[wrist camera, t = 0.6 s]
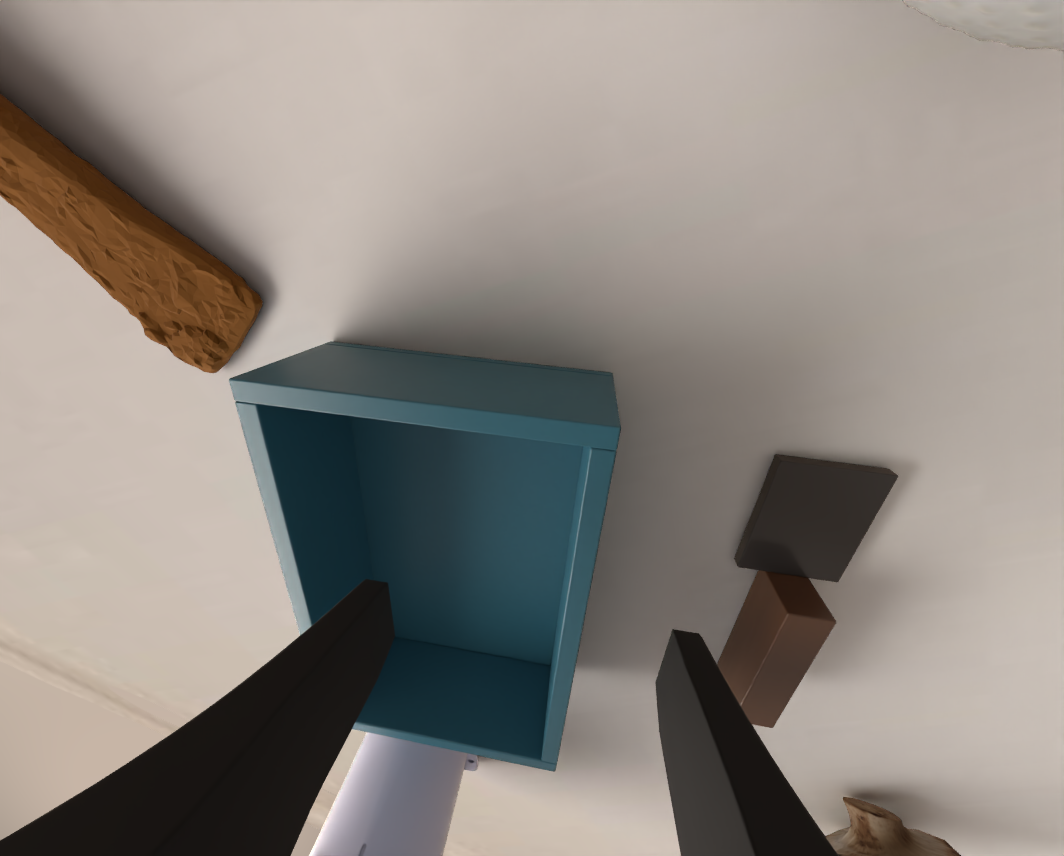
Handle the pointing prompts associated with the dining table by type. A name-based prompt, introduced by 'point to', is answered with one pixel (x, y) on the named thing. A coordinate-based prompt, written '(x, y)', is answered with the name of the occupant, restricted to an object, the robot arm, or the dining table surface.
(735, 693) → the scraper
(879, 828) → the mushroom
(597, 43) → the dining table surface
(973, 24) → the cereal bowl
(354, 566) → the bin
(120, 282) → the primitive tool
